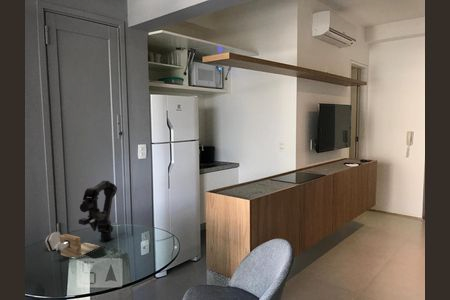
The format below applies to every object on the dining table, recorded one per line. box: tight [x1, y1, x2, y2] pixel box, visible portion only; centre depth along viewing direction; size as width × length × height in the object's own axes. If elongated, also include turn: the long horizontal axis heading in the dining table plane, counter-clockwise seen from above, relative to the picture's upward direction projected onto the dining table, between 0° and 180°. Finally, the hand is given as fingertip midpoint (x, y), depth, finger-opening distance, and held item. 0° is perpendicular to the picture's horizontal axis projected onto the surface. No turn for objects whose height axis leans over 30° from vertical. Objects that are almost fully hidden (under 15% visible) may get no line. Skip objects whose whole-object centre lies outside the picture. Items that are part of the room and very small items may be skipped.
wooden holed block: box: [58, 240, 70, 251], centre depth 205 cm, size 11×5×5 cm, turn 152°
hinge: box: [44, 231, 62, 252], centre depth 223 cm, size 17×5×10 cm, turn 7°
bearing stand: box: [60, 233, 101, 258], centre depth 213 cm, size 18×14×12 cm
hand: (94, 230), depth 216 cm, fingers closed
